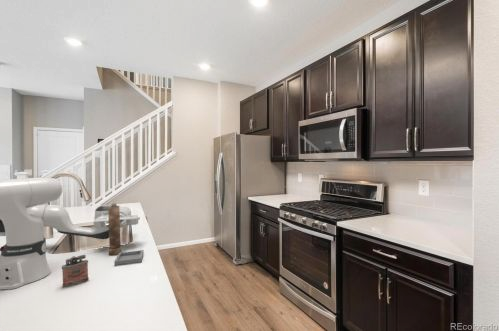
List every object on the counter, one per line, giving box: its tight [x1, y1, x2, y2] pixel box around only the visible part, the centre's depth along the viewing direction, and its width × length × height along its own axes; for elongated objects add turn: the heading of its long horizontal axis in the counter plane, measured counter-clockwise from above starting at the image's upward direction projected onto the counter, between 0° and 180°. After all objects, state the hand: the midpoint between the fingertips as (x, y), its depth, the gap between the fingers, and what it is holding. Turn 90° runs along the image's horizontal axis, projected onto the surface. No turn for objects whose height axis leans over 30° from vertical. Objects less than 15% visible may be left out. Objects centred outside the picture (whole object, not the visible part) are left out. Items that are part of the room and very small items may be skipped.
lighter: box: [61, 254, 90, 289], centre depth 93 cm, size 8×3×10 cm, turn 131°
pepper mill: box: [108, 202, 123, 256], centre depth 121 cm, size 6×6×25 cm
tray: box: [113, 249, 144, 267], centre depth 114 cm, size 11×11×2 cm
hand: (114, 225), depth 121 cm, fingers closed on pepper mill, 5 cm apart
